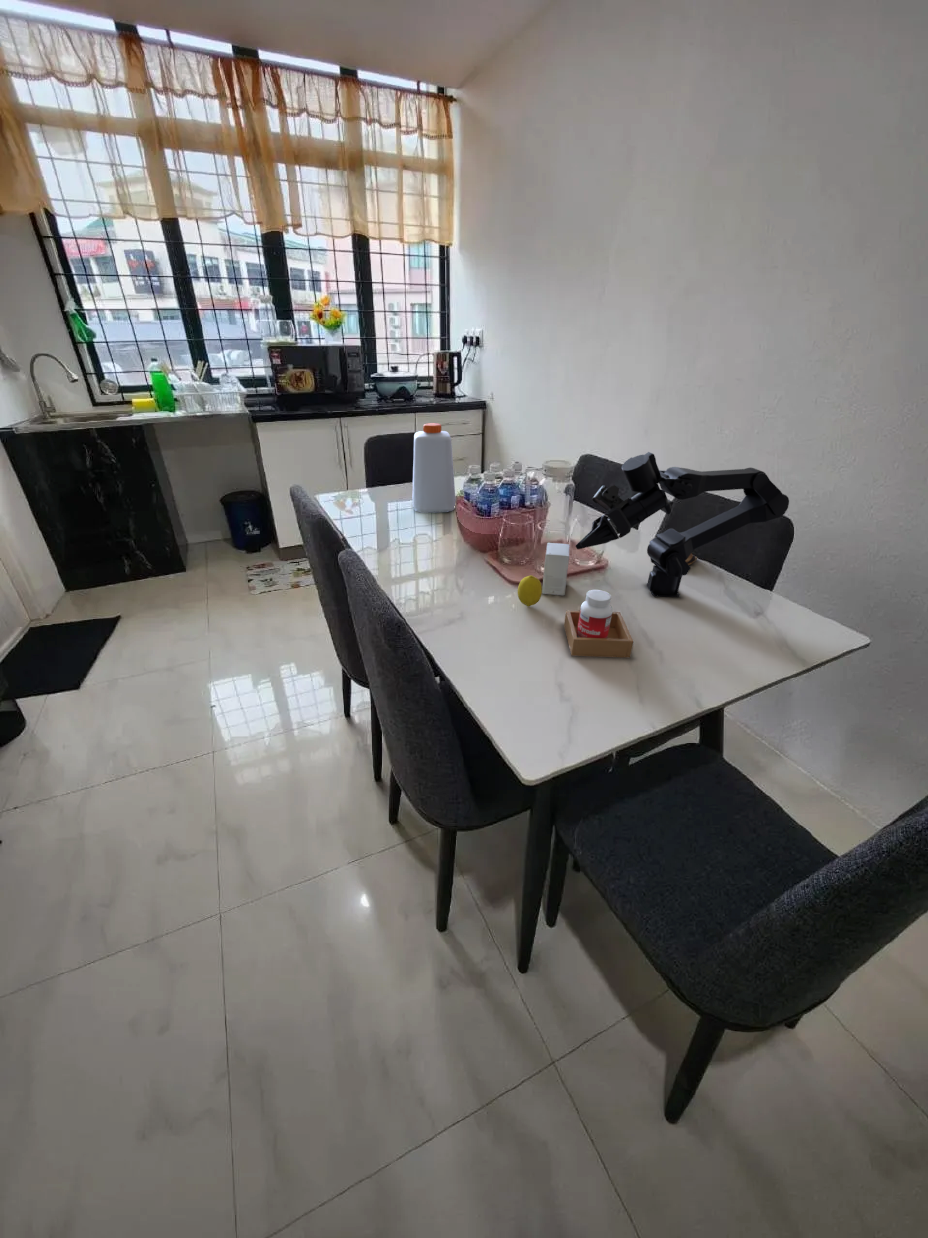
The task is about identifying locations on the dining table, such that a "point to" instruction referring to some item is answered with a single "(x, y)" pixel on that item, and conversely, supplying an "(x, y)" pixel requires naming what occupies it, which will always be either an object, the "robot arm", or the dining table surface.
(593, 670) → the dining table surface
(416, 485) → the plastic bottle
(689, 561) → the toast
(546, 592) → the small box
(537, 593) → the lemon
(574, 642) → the open box
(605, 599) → the pill bottle
